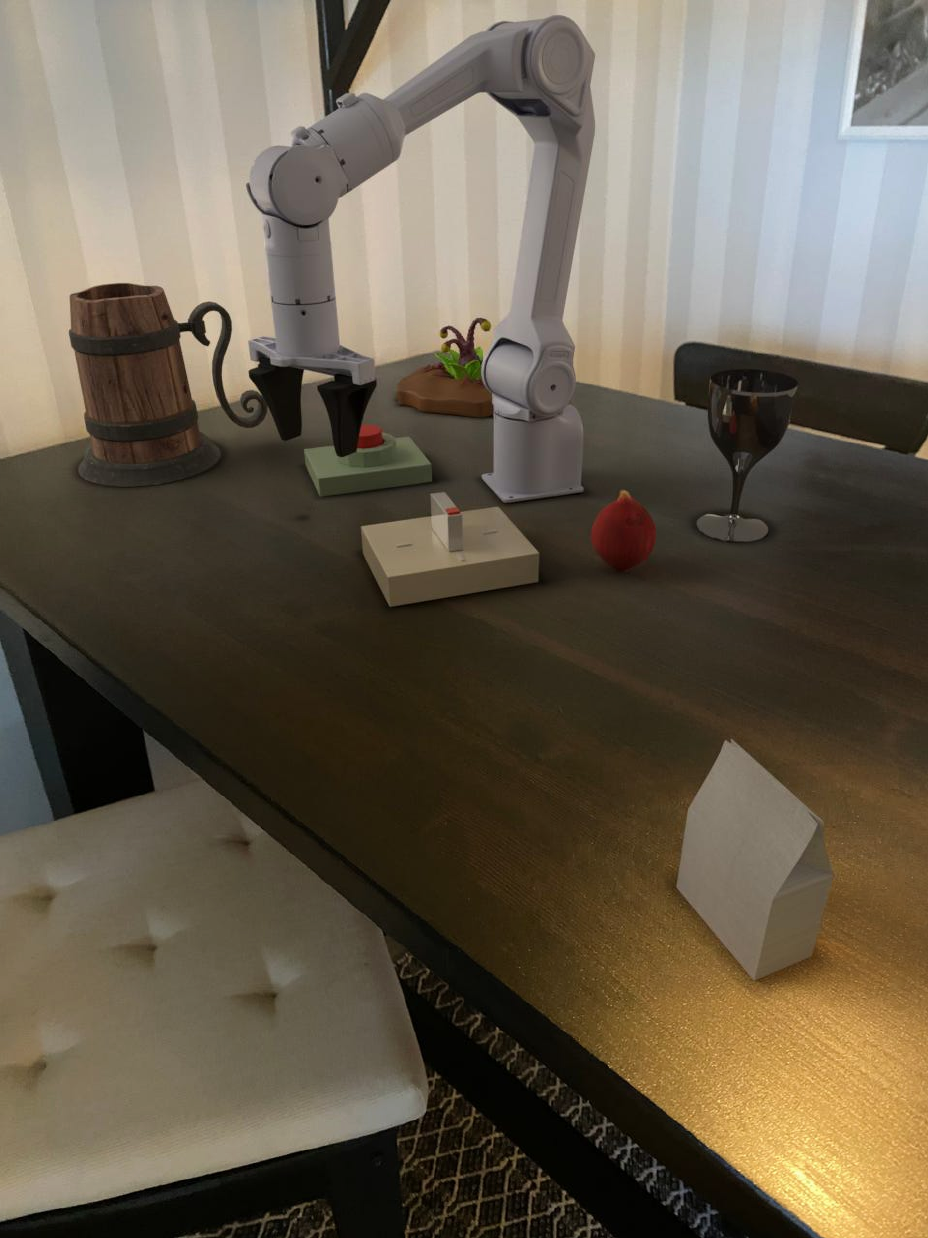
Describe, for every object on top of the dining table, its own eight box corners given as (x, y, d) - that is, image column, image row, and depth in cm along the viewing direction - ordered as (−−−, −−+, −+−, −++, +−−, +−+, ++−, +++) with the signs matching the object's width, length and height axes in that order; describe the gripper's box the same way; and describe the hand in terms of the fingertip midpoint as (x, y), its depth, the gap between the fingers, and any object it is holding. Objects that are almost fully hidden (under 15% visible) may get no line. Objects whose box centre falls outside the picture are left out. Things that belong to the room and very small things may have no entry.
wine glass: (778, 518, 93) (803, 373, 86) (765, 549, 87) (792, 396, 80) (701, 506, 96) (719, 365, 89) (684, 535, 90) (702, 387, 83)
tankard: (86, 496, 101) (41, 312, 91) (71, 450, 114) (30, 285, 104) (289, 461, 110) (268, 289, 100) (253, 422, 123) (232, 266, 113)
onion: (656, 561, 85) (664, 482, 81) (646, 589, 81) (655, 507, 77) (596, 553, 87) (601, 475, 83) (582, 580, 82) (587, 499, 78)
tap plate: (498, 533, 91) (498, 504, 90) (538, 582, 82) (539, 551, 81) (362, 554, 88) (360, 524, 86) (389, 607, 79) (387, 575, 77)
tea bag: (754, 981, 46) (787, 835, 40) (676, 887, 51) (697, 748, 46) (811, 956, 47) (851, 812, 42) (729, 867, 52) (755, 730, 47)
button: (378, 437, 106) (377, 422, 105) (386, 448, 103) (385, 433, 102) (345, 441, 105) (343, 426, 104) (351, 452, 102) (350, 437, 101)
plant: (494, 425, 120) (494, 340, 114) (376, 404, 129) (371, 323, 123) (561, 387, 134) (565, 310, 129) (451, 370, 144) (450, 297, 138)
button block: (410, 453, 112) (408, 421, 110) (432, 482, 103) (431, 448, 101) (305, 466, 108) (302, 434, 106) (320, 497, 100) (316, 463, 98)
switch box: (431, 527, 86) (430, 491, 84) (445, 525, 86) (444, 489, 84) (448, 552, 81) (447, 513, 79) (463, 549, 81) (462, 511, 79)
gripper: (214, 297, 81) (236, 442, 88) (329, 317, 73) (343, 474, 80) (274, 284, 86) (290, 422, 93) (387, 301, 78) (395, 451, 85)
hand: (318, 445), depth 87 cm, fingers open, 7 cm apart
